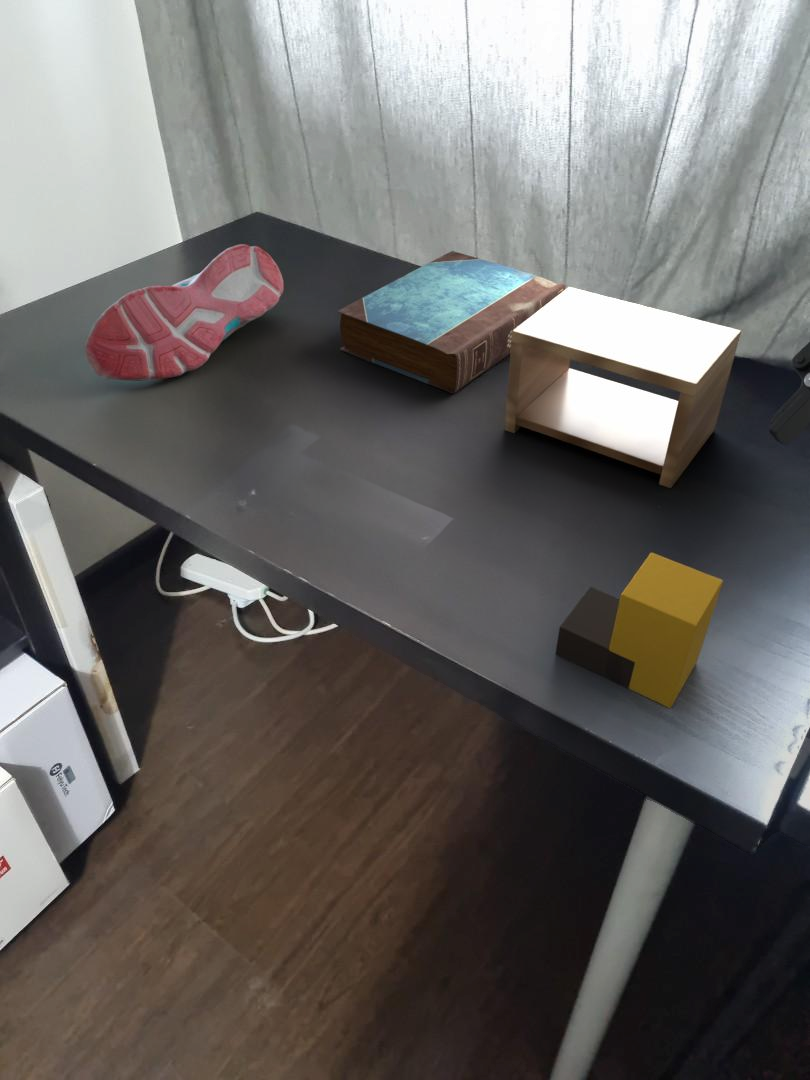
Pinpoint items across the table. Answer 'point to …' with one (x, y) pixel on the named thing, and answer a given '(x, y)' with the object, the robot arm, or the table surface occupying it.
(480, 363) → the book
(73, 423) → the table surface
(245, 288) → the athletic shoe
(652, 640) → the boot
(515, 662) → the table surface
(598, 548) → the table surface
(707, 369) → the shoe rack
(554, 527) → the table surface
